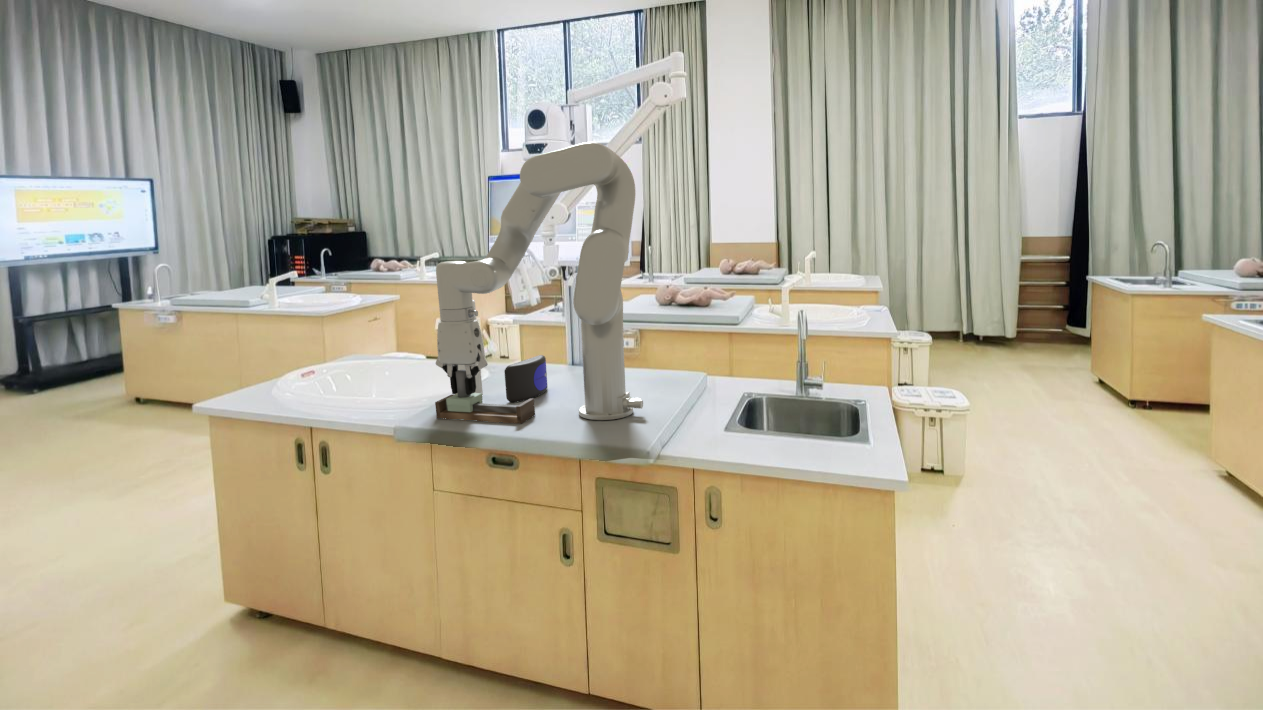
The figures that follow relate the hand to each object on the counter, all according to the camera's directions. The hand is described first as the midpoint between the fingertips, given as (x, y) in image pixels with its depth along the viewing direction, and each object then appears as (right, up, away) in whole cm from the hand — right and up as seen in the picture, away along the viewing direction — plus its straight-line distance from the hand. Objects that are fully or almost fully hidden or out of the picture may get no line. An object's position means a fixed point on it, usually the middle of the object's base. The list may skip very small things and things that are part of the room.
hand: (463, 392), depth 170 cm
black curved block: (+12, -2, +18) cm, 22 cm away
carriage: (0, -4, +1) cm, 4 cm away
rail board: (+5, -6, -1) cm, 8 cm away
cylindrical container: (-3, -2, +19) cm, 19 cm away
